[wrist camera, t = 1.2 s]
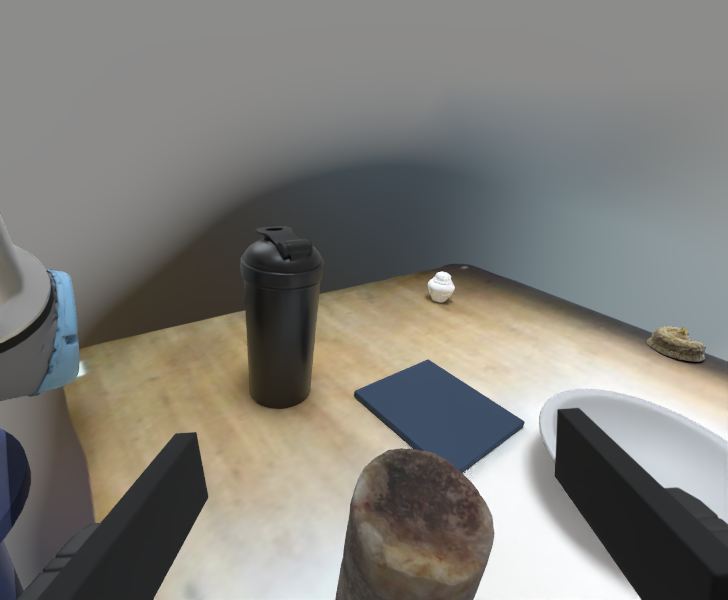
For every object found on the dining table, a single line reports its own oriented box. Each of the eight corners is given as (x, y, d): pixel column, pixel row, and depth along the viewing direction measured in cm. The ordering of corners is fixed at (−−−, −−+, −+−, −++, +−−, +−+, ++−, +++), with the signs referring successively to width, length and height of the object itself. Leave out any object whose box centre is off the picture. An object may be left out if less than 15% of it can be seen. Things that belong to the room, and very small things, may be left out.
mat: (353, 396, 58) (354, 390, 57) (427, 364, 68) (428, 359, 67) (451, 481, 46) (452, 475, 45) (523, 427, 56) (525, 421, 55)
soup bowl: (837, 605, 38) (882, 560, 35) (611, 628, 34) (641, 579, 31) (644, 425, 59) (662, 388, 56) (492, 426, 55) (504, 387, 52)
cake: (664, 362, 78) (673, 338, 76) (635, 338, 88) (643, 316, 85) (717, 365, 78) (727, 341, 76) (682, 340, 87) (691, 318, 85)
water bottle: (294, 361, 64) (300, 220, 55) (329, 397, 57) (342, 242, 48) (232, 380, 58) (226, 225, 49) (262, 422, 51) (262, 250, 42)
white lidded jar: (432, 292, 97) (437, 265, 94) (455, 300, 94) (461, 272, 91) (420, 299, 92) (425, 271, 90) (445, 308, 90) (451, 279, 87)
